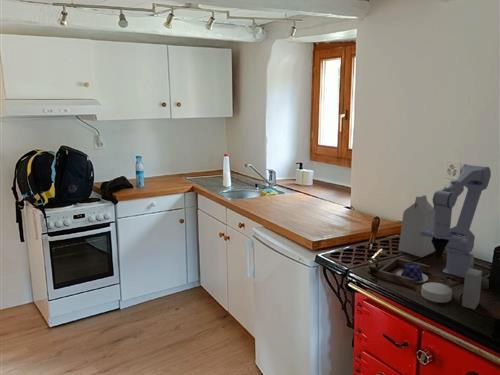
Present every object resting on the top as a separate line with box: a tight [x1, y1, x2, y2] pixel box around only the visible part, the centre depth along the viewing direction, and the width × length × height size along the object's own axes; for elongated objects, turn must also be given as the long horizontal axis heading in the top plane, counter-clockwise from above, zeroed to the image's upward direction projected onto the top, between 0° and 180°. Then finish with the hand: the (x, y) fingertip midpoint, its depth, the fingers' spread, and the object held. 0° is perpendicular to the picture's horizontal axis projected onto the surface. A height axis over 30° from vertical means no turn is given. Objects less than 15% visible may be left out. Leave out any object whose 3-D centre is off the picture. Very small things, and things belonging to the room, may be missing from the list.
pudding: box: [395, 263, 429, 284], centre depth 169 cm, size 12×12×5 cm
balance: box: [366, 248, 387, 271], centre depth 180 cm, size 13×4×7 cm, turn 139°
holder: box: [377, 257, 431, 288], centre depth 172 cm, size 14×18×3 cm
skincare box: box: [461, 268, 483, 310], centre depth 146 cm, size 6×4×12 cm
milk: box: [397, 194, 435, 258], centre depth 196 cm, size 12×12×26 cm
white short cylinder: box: [420, 281, 453, 304], centre depth 153 cm, size 10×10×4 cm
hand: (439, 257), depth 162 cm, fingers closed
